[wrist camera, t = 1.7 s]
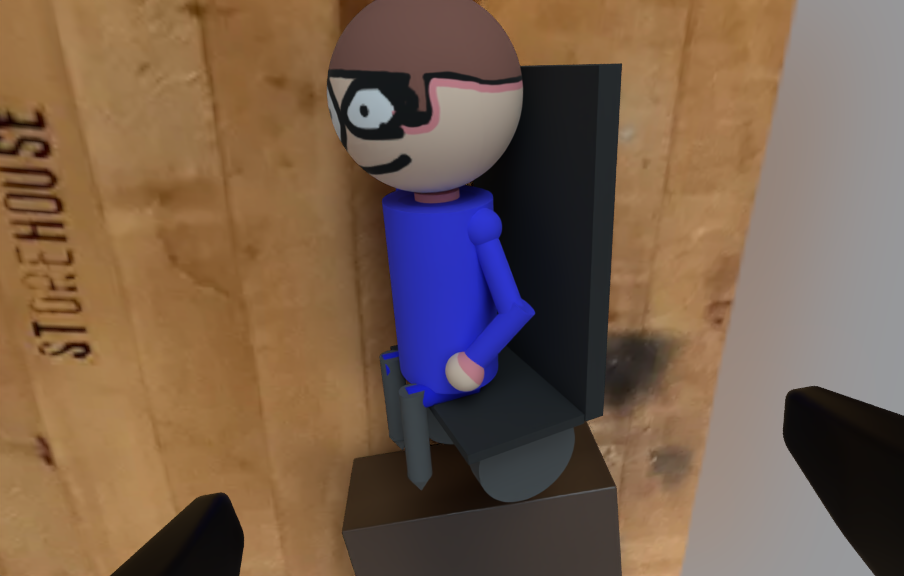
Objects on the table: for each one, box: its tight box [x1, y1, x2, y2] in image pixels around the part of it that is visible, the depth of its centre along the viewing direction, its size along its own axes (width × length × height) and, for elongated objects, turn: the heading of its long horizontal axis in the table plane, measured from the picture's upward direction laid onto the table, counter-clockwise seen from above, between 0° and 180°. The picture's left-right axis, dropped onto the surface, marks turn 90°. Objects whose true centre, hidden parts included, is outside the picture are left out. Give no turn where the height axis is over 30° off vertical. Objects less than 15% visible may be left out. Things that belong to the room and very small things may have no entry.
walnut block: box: [342, 421, 622, 576], centre depth 24 cm, size 10×10×4 cm
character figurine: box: [327, 0, 622, 502], centre depth 17 cm, size 8×7×15 cm
